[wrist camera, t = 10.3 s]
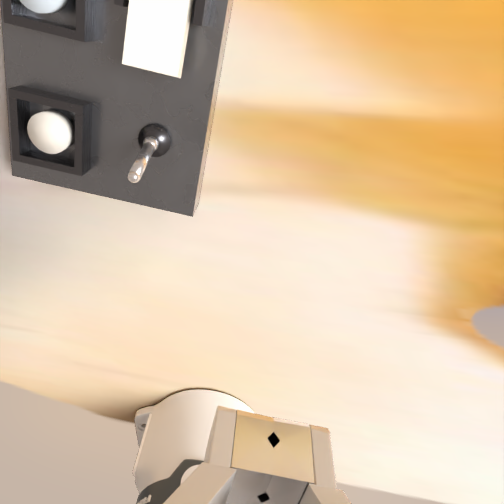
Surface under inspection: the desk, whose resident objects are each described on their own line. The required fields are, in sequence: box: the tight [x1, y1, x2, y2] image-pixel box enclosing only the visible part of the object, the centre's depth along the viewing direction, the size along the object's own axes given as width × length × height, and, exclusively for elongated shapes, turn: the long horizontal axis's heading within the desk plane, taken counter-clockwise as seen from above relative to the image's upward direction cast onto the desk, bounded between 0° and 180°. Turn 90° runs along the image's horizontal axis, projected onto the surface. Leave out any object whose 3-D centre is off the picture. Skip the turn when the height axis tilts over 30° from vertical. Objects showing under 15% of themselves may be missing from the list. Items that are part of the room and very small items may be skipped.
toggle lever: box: [128, 136, 159, 183], centre depth 31 cm, size 1×1×5 cm
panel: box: [1, 0, 233, 217], centre depth 31 cm, size 22×16×6 cm
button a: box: [27, 110, 75, 154], centre depth 33 cm, size 3×3×1 cm
